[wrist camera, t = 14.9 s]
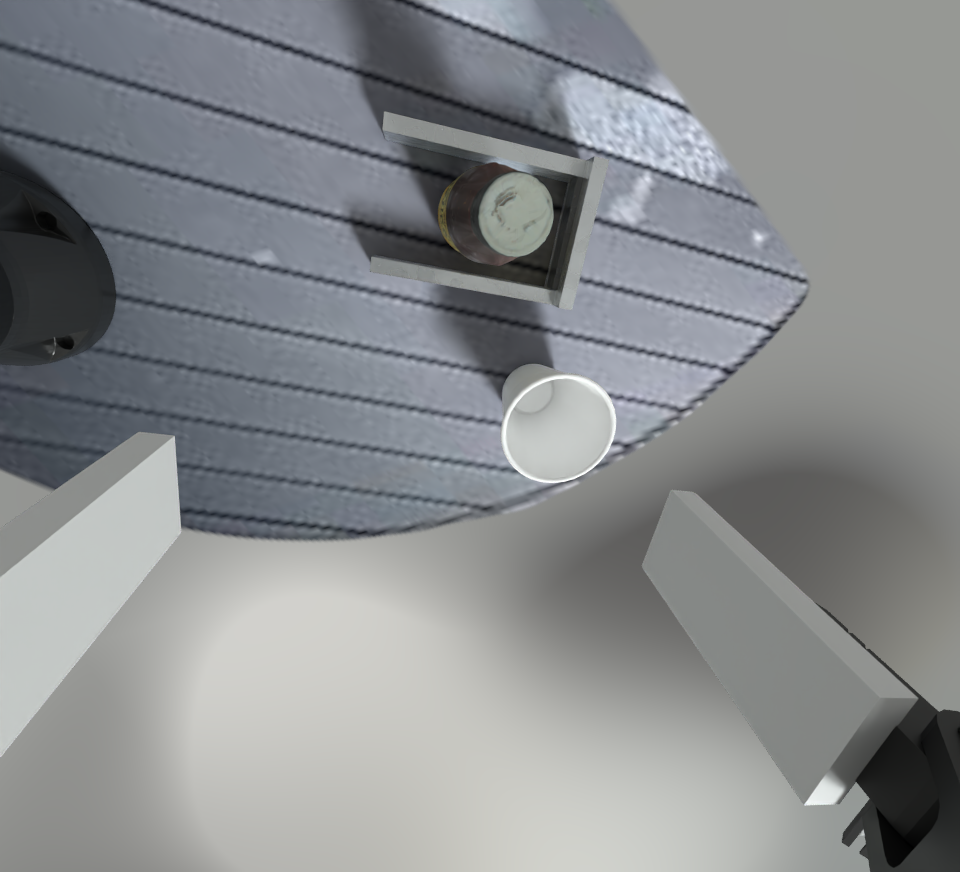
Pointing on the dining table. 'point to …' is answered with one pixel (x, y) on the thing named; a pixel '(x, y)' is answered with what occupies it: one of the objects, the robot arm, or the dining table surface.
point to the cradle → (576, 172)
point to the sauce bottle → (495, 214)
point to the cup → (555, 423)
